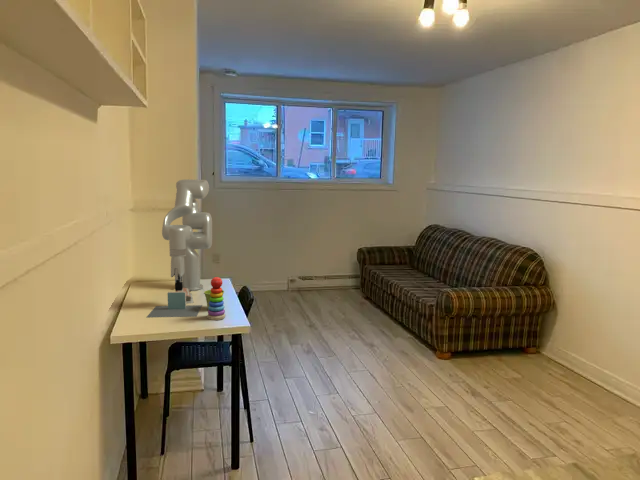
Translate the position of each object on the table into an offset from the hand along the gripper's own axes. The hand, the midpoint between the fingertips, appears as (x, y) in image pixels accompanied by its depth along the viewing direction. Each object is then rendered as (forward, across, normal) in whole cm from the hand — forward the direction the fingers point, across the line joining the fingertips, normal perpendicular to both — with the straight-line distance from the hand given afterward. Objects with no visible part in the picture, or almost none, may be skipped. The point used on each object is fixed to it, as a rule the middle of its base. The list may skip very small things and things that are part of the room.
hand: (178, 290), depth 232 cm
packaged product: (+8, -12, -1) cm, 14 cm away
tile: (+8, +5, 0) cm, 9 cm away
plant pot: (+8, +7, +18) cm, 20 cm away
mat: (+8, +9, 0) cm, 12 cm away
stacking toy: (+8, +20, +20) cm, 30 cm away
